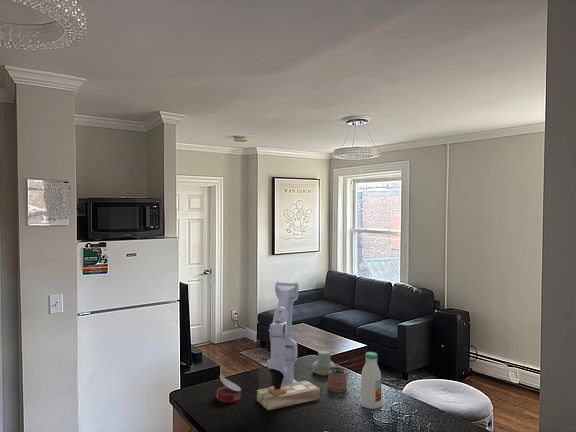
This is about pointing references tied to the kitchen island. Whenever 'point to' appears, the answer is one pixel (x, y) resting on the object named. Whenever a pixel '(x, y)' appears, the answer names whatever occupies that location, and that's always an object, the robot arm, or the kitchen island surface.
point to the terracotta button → (277, 390)
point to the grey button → (299, 387)
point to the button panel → (288, 396)
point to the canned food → (228, 391)
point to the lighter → (337, 379)
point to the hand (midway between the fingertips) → (277, 388)
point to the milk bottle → (371, 382)
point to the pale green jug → (323, 363)
